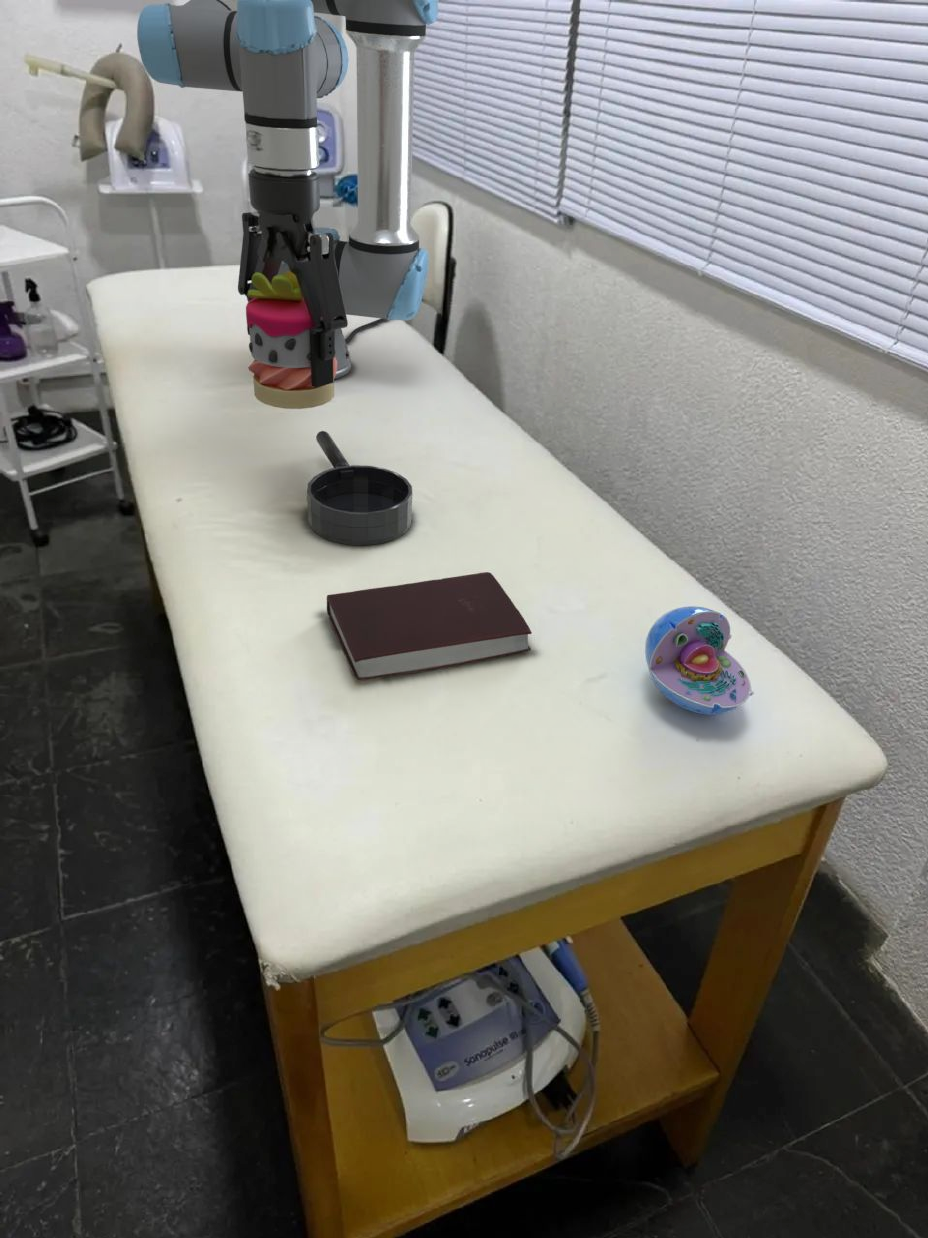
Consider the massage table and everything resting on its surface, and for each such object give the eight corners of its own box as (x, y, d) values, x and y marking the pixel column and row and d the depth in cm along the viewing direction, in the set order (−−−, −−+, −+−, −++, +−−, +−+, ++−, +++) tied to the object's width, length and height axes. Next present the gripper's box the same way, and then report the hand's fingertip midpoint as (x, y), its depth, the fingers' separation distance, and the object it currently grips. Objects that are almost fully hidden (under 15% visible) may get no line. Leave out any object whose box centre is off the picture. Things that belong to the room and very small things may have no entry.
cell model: (685, 748, 81) (709, 669, 75) (616, 672, 89) (633, 596, 84) (766, 723, 84) (795, 646, 79) (693, 652, 93) (714, 579, 87)
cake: (263, 375, 110) (253, 252, 101) (344, 381, 110) (341, 259, 101) (241, 405, 102) (229, 275, 93) (329, 413, 102) (325, 283, 93)
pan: (425, 536, 109) (427, 505, 106) (323, 552, 104) (322, 520, 102) (392, 489, 119) (392, 460, 116) (297, 502, 114) (295, 471, 112)
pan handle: (354, 480, 115) (354, 467, 114) (340, 482, 114) (339, 468, 113) (328, 440, 124) (327, 428, 123) (314, 442, 124) (314, 429, 123)
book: (326, 614, 94) (325, 589, 92) (488, 589, 100) (490, 566, 98) (354, 685, 85) (354, 660, 83) (531, 653, 91) (534, 629, 89)
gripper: (193, 154, 95) (214, 350, 108) (323, 191, 83) (329, 407, 96) (250, 151, 100) (263, 339, 113) (381, 185, 88) (379, 392, 100)
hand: (293, 370), depth 104 cm, fingers closed on cake, 10 cm apart
